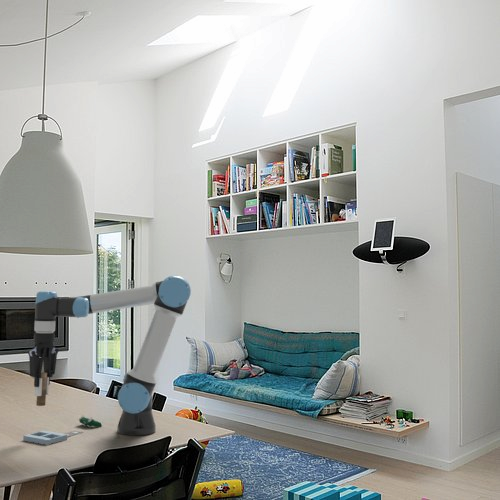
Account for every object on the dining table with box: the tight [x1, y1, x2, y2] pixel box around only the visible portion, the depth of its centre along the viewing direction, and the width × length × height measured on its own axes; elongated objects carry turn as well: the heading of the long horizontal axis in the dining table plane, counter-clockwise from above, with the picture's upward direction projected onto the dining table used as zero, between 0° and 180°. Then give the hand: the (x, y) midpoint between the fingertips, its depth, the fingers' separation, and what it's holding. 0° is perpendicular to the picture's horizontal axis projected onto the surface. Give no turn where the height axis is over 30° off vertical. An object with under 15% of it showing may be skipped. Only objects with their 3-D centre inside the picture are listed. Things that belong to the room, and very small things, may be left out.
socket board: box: [22, 430, 68, 446], centre depth 230 cm, size 12×10×2 cm
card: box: [64, 430, 84, 438], centre depth 240 cm, size 5×10×1 cm, turn 152°
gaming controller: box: [78, 414, 103, 428], centre depth 255 cm, size 9×4×6 cm
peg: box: [35, 371, 47, 407], centre depth 233 cm, size 3×3×12 cm
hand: (41, 394), depth 233 cm, fingers closed on peg, 3 cm apart
